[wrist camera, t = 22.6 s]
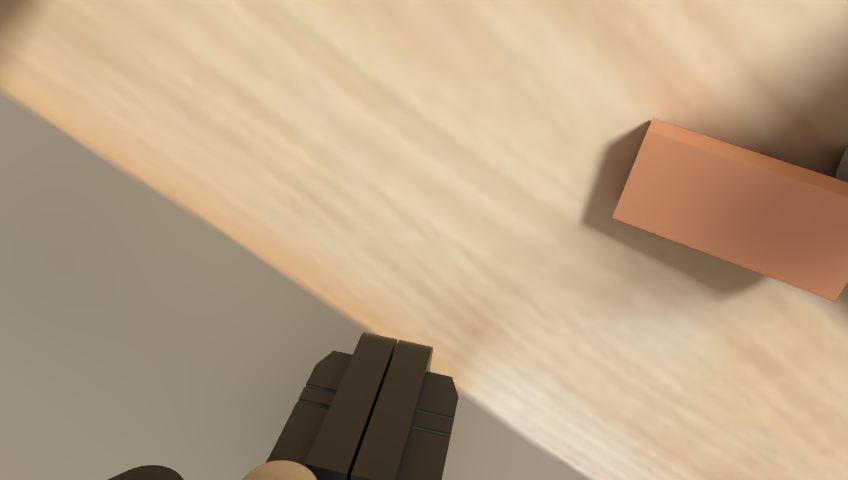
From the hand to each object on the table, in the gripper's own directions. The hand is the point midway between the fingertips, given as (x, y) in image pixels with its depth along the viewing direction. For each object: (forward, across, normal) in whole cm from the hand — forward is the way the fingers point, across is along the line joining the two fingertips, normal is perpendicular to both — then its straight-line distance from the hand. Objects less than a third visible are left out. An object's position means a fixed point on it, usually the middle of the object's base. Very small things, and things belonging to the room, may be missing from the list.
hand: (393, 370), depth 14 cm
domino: (+22, -8, +3) cm, 24 cm away
